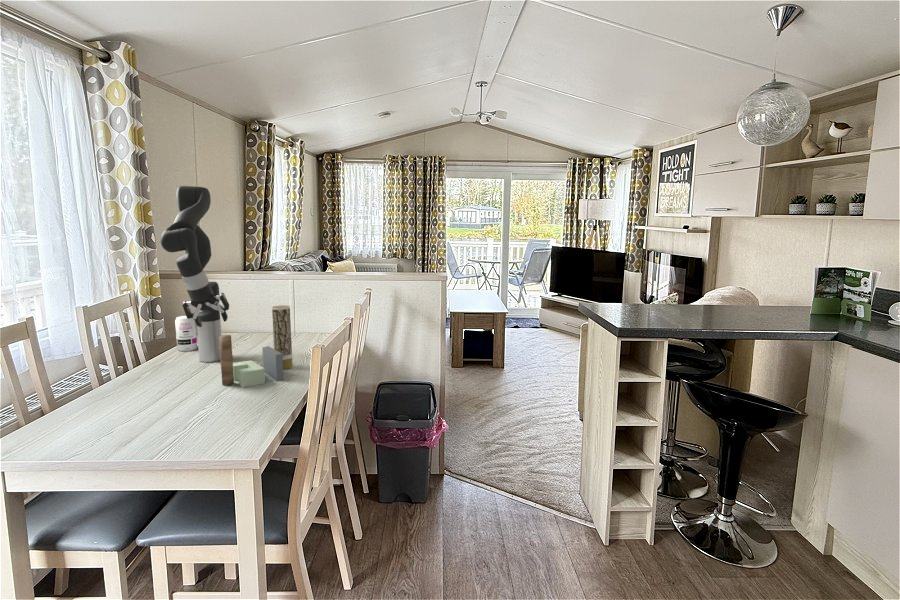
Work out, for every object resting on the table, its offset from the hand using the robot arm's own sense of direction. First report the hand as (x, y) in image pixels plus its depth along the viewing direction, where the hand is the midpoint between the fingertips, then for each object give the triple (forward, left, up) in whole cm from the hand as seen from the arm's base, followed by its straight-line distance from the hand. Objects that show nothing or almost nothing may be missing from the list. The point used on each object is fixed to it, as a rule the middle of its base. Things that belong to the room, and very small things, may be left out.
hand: (213, 323), depth 190 cm
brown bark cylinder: (-6, +27, -23) cm, 36 cm away
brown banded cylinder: (+2, +3, -23) cm, 23 cm away
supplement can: (-60, +3, -23) cm, 64 cm away
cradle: (+2, +11, -23) cm, 25 cm away
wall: (+2, +20, -23) cm, 30 cm away
